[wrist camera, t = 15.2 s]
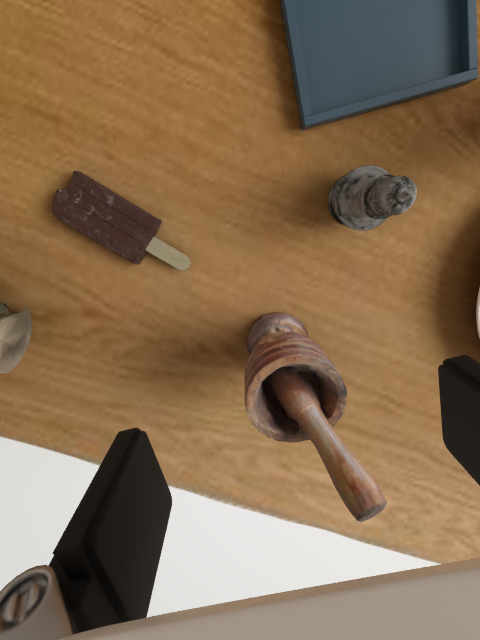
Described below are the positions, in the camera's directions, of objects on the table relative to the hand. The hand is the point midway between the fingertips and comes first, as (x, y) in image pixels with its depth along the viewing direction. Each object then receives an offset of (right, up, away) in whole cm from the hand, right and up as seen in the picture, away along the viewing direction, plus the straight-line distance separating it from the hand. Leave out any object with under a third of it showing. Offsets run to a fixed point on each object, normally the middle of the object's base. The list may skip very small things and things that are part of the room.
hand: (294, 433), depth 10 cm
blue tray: (+11, +30, +20) cm, 38 cm away
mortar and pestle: (+4, 0, +30) cm, 30 cm away
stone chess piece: (+10, +16, +25) cm, 31 cm away
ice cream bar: (-14, +13, +25) cm, 32 cm away
